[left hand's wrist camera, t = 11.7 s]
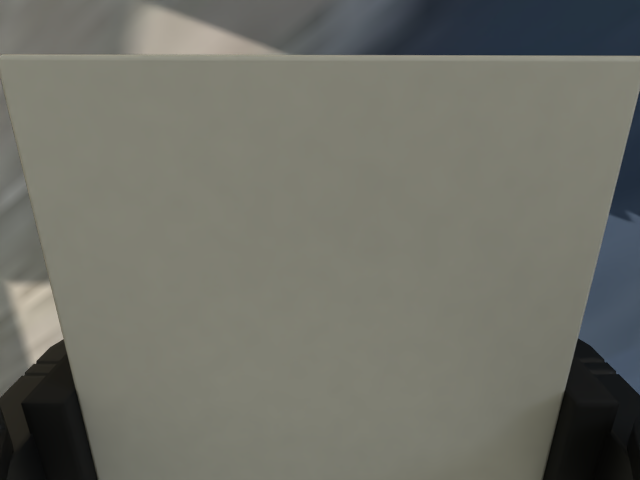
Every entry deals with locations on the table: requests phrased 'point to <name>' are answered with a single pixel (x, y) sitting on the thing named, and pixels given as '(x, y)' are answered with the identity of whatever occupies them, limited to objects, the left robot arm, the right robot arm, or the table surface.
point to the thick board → (320, 254)
